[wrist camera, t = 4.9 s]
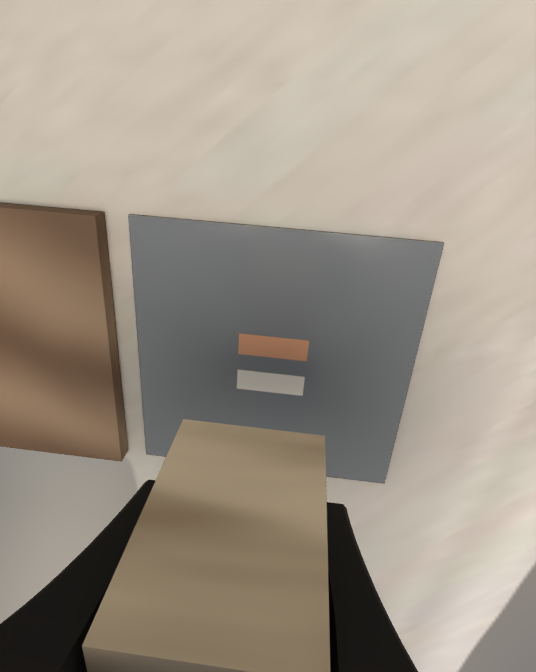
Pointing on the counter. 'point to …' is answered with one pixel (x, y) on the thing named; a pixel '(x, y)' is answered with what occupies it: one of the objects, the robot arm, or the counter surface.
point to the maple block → (223, 560)
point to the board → (58, 334)
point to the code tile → (279, 332)
